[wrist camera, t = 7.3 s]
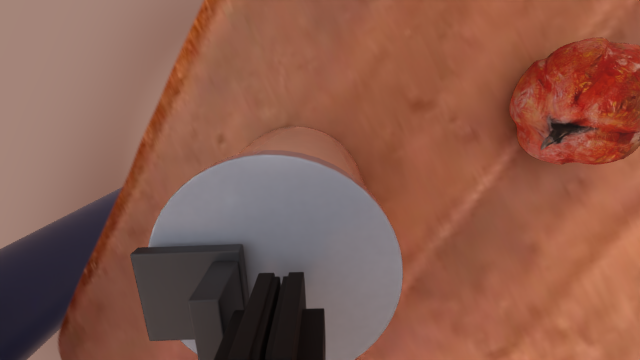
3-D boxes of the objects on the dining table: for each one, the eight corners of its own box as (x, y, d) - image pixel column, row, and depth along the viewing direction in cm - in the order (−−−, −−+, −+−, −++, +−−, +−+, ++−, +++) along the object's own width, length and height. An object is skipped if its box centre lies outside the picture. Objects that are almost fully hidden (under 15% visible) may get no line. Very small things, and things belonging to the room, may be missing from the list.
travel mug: (235, 257, 27) (168, 386, 15) (218, 124, 24) (119, 160, 12) (367, 252, 27) (401, 380, 15) (366, 117, 24) (407, 149, 12)
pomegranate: (548, 34, 24) (476, 65, 19) (697, 12, 19) (652, 47, 13) (545, 131, 27) (482, 180, 22) (674, 137, 21) (629, 206, 16)
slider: (156, 331, 14) (113, 393, 11) (137, 246, 13) (84, 293, 10) (253, 328, 14) (235, 391, 11) (243, 243, 13) (220, 288, 10)
